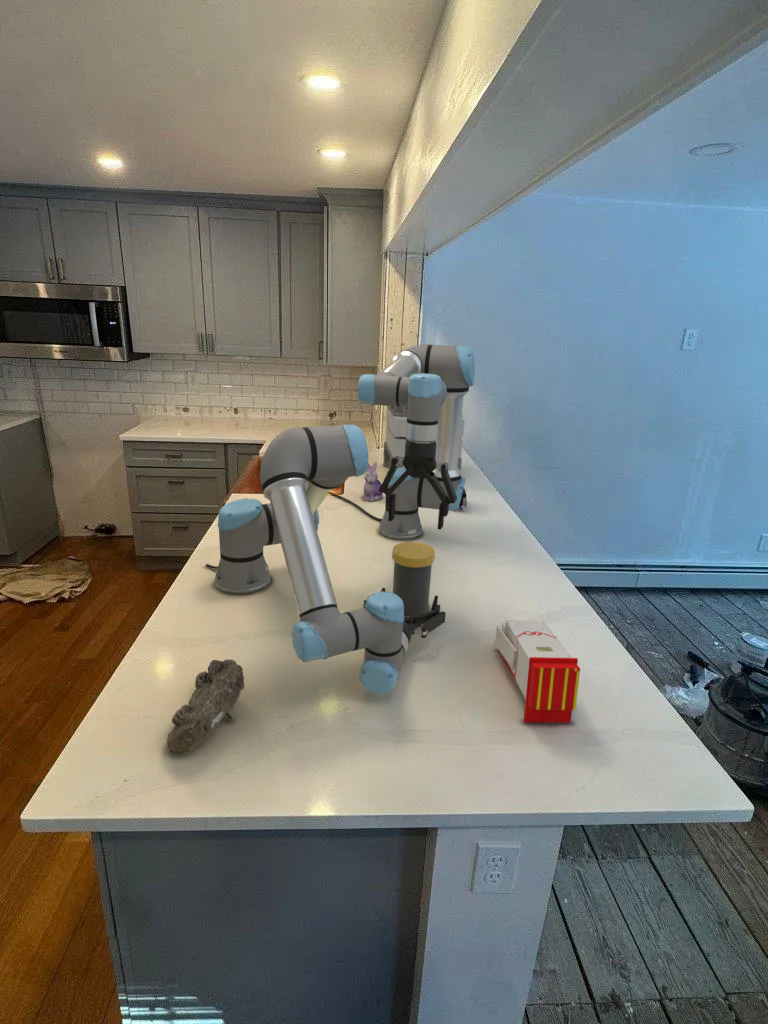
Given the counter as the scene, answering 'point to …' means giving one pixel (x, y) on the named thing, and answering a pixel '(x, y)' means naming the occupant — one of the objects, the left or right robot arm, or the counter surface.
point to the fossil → (206, 705)
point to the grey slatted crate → (403, 435)
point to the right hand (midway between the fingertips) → (415, 523)
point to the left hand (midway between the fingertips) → (409, 596)
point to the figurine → (372, 484)
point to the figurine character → (463, 500)
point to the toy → (540, 670)
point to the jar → (412, 588)
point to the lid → (413, 554)
